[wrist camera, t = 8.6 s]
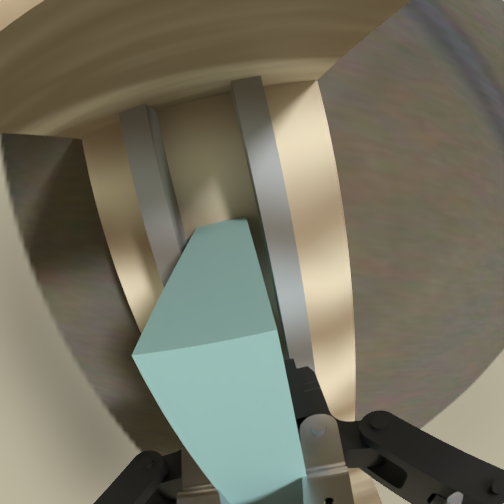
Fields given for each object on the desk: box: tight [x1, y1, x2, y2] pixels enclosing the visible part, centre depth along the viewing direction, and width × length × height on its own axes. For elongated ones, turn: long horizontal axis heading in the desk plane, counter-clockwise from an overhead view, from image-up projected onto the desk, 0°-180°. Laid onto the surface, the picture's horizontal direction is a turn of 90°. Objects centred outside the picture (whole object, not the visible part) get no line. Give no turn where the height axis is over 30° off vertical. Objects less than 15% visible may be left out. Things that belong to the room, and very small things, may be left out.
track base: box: [0, 0, 411, 504], centre depth 11 cm, size 28×12×12 cm, turn 12°
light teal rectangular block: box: [132, 216, 307, 504], centre depth 11 cm, size 12×2×10 cm, turn 12°
